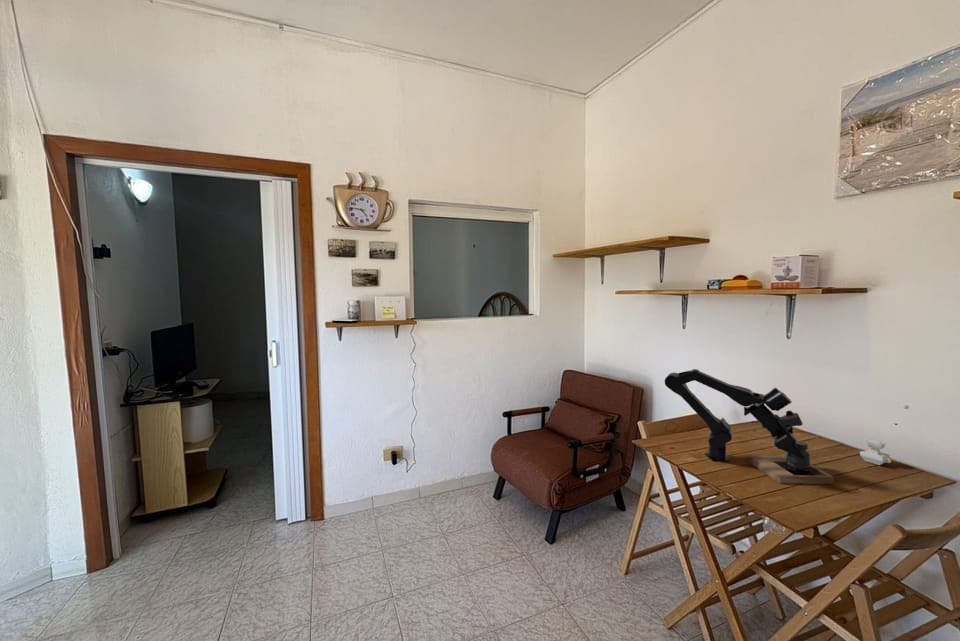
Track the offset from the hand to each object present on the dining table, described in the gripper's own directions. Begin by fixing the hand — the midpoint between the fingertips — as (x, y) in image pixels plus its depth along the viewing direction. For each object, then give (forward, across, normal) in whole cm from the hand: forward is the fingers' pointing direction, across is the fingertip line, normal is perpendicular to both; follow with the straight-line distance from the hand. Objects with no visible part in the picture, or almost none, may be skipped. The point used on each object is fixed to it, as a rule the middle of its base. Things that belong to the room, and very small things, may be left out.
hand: (802, 453), depth 142 cm
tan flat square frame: (+3, +1, +8) cm, 9 cm away
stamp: (+23, +28, -11) cm, 38 cm away
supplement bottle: (+5, 0, +7) cm, 8 cm away
